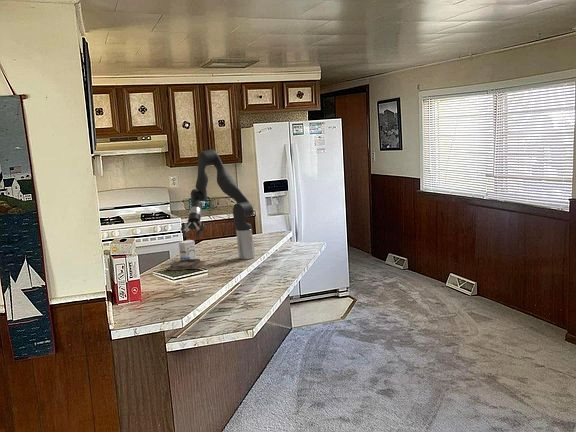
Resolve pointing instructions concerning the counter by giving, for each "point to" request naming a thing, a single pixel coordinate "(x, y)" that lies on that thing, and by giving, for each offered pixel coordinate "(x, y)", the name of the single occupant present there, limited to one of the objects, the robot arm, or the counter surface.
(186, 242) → the ink box
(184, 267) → the dock
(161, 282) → the counter surface
